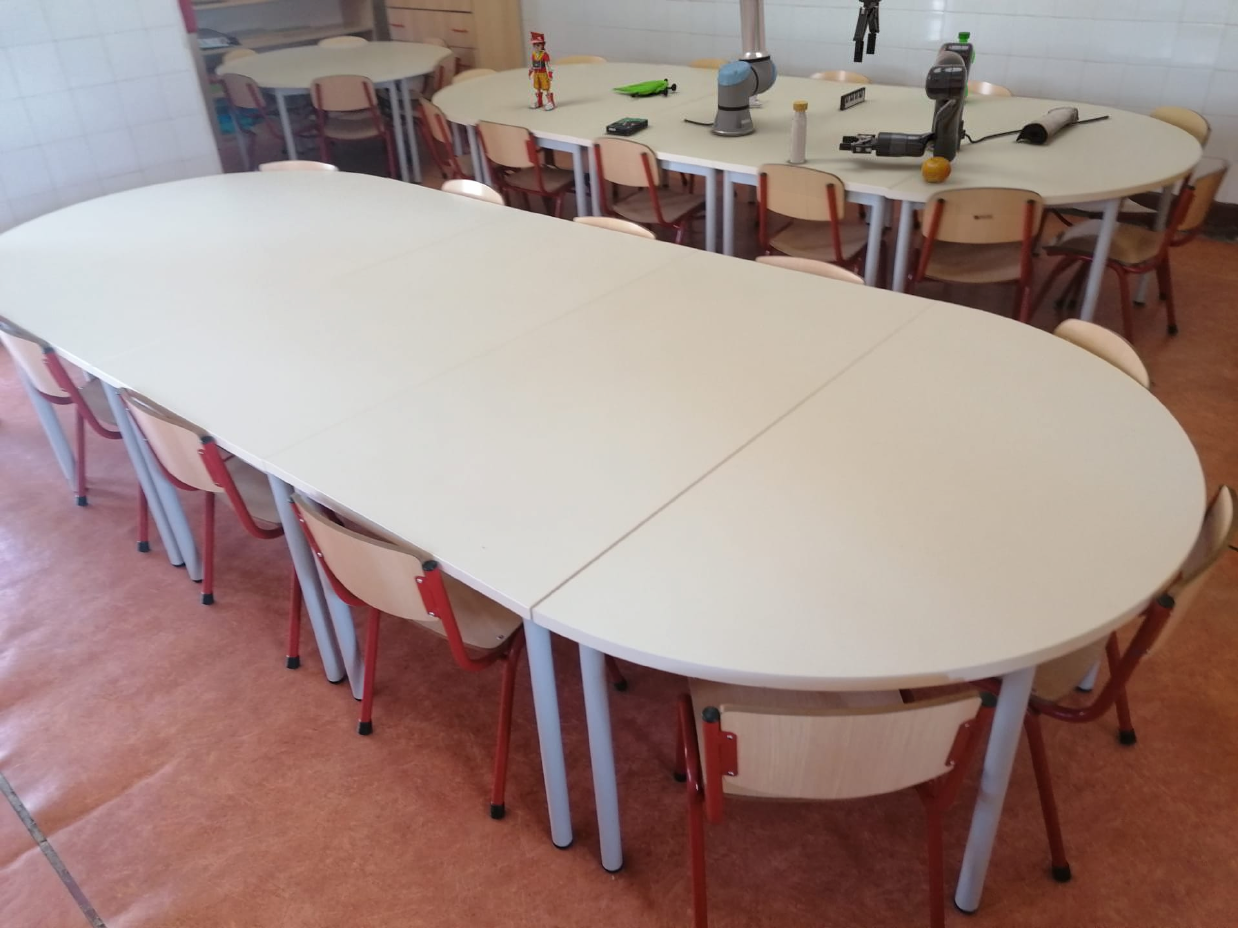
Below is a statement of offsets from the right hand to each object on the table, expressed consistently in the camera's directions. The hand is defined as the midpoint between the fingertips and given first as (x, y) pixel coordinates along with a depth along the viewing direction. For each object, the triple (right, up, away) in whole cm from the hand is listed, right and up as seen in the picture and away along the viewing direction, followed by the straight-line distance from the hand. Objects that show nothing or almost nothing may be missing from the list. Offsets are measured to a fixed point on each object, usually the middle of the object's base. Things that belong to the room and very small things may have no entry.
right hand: (840, 143), depth 294 cm
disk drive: (-70, +24, +52) cm, 90 cm away
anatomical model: (-20, +43, +75) cm, 89 cm away
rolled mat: (+77, +10, +20) cm, 80 cm away
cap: (-14, +12, -2) cm, 18 cm away
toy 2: (-63, +60, +103) cm, 135 cm away
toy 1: (-105, +47, +89) cm, 146 cm away
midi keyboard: (+21, +39, +66) cm, 79 cm away
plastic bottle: (+60, +38, +61) cm, 94 cm away
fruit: (+25, -18, -16) cm, 34 cm away
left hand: (+10, +33, +10) cm, 36 cm away
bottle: (-13, -3, +8) cm, 16 cm away
